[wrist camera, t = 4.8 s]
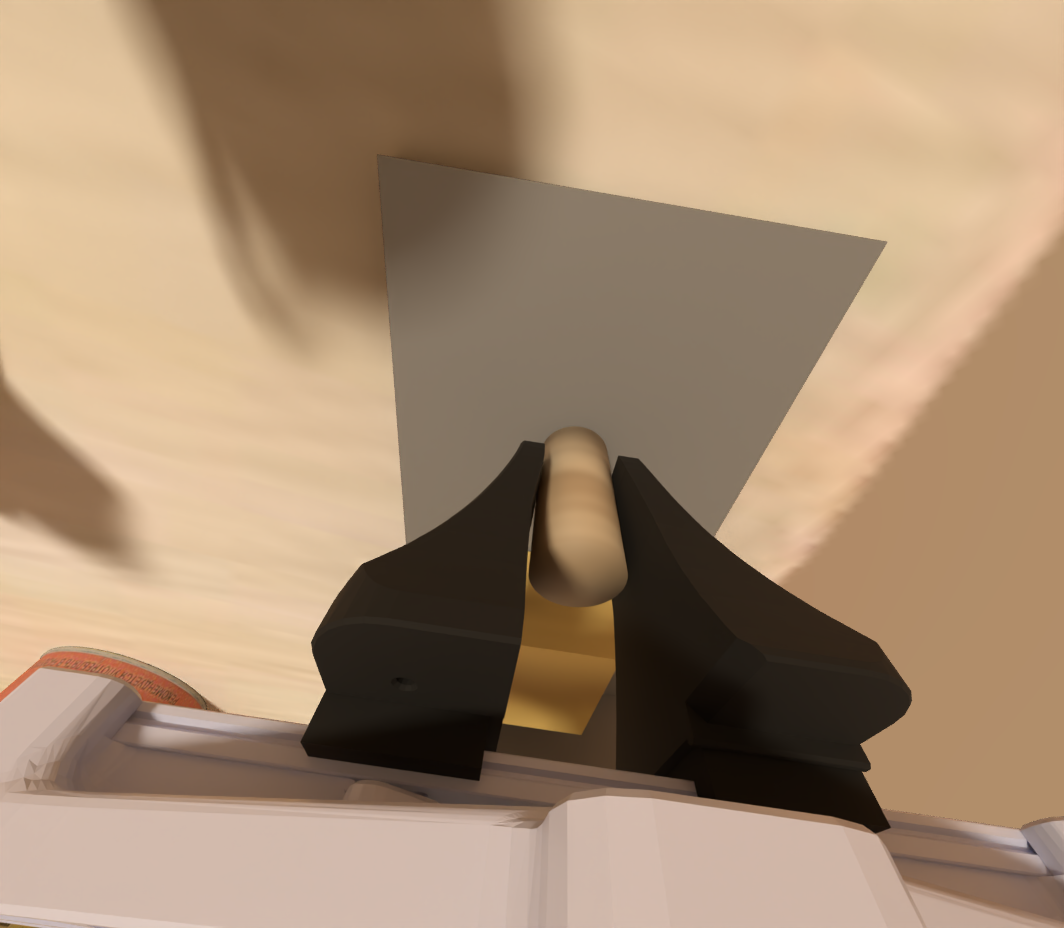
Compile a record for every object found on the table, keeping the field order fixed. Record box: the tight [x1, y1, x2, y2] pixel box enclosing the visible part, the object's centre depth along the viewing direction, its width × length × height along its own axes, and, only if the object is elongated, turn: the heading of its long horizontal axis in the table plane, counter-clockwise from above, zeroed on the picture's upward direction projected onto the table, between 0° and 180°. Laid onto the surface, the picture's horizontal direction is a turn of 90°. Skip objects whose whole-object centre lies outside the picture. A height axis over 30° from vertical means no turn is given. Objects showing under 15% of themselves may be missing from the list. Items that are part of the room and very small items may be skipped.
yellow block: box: [503, 426, 628, 735], centre depth 13 cm, size 12×5×5 cm, turn 172°
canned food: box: [0, 647, 206, 928], centre depth 24 cm, size 11×11×12 cm
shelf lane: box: [377, 154, 887, 770], centre depth 13 cm, size 24×12×7 cm, turn 172°
